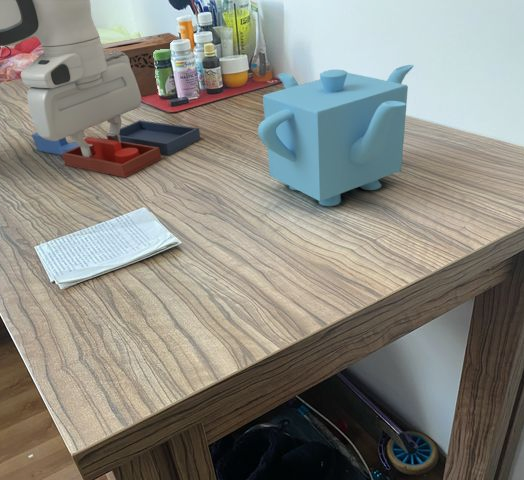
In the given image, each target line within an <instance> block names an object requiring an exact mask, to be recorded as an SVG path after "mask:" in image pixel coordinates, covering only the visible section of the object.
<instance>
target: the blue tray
mask: <svg viewBox="0 0 524 480" xmlns="http://www.w3.org/2000/svg"><path fill="white" fill-rule="evenodd" d="M200 132H201V131H200V128H199V127H193V126H185V125H178V124H170V123H163V122H155V121H148V120H146V121H145V120H137V121H135V122H131V123H130V124H128V125H125V126H123V127H121V128H120V133H119V135H120V139H121V141H122V142H128V143H135V144H141V145H147V146H153V147H159V149H160V154H161V155H164V156H170V155H172V154H174V153H177V152H178V151H180V150H182V149H184V148H186V147H188V146H190V145H192V144H194V143H196V142H199V141H200V140H201V139H202V137H201V133H200ZM108 134H110V132H109V133H106V135H108Z"/></svg>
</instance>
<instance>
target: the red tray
mask: <svg viewBox="0 0 524 480" xmlns="http://www.w3.org/2000/svg"><path fill="white" fill-rule="evenodd" d="M99 138H100V139H106V140H108V139H107V138H103V137H99ZM121 147H122V149H125V148H137V149H138V152H139V156H137V157H135V158H133V159H131V160H129V161H127V162H125V163H123V164H120V163H117V162H115V161H110V160H105V159H99V158H94V157H84V156H83V154H82V151H81V148H80V147H79V146H78V147H76V148H74V149H71V150H69V151H67V152H64V153H62V155H61V157H62V159H63V163H64V165H65V166H69V167H74V168H78V169H83V170H88V171H92V172H96V173H97V172H98V173H101V174H106V175H111V176H115V177H120V178H128V177H129V176H131V175H133V174H135V173H137V172H139V171H141V170H143V169H145V168H147V167H149V166H151V165H153V164H155V163H157V162H159V161H160V160H162V154H160V149H159V147H153V146H147V145H141V144H135V143H128V142H122V141H121Z"/></svg>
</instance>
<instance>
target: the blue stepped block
mask: <svg viewBox="0 0 524 480" xmlns="http://www.w3.org/2000/svg"><path fill="white" fill-rule="evenodd" d="M31 136H32V139H33V142H34V144H35V147H36V150H37V151H38V152H44V153H48V154H54V155H59V156H62V153H64V152H67V151H69V150H71V149H74V148H76V147H78V145H77V144H76V143H75V142H74V141H73V142H68V141H67V137H65V138H63V139H60V140H58V141H50V140H45V139H43V138H42V137H41V136H39V135H38V133H37V132H35V133H32V134H31Z"/></svg>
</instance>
